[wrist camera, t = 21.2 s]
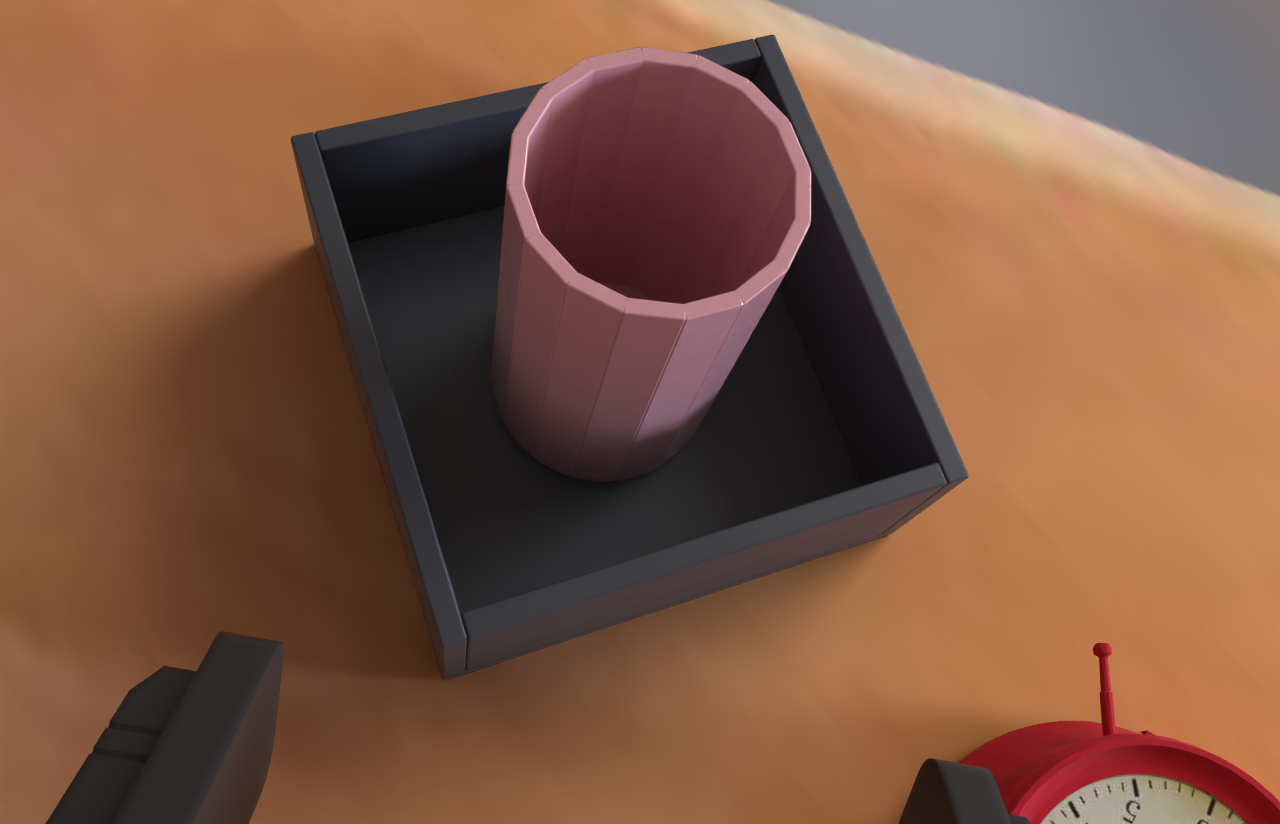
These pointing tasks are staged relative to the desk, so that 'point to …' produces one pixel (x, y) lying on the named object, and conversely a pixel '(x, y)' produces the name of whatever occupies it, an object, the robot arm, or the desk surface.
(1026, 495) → the desk surface
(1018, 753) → the alarm clock
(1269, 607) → the desk surface
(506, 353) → the cup
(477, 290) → the tub
